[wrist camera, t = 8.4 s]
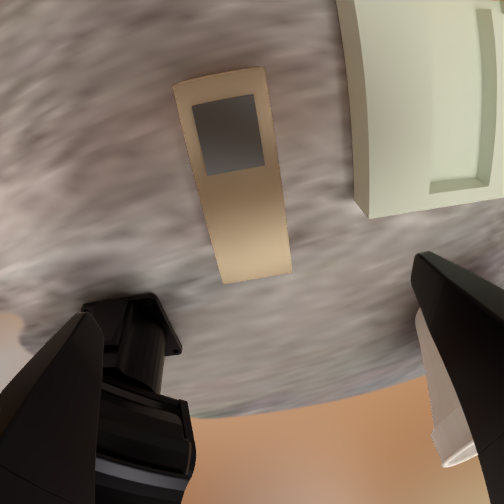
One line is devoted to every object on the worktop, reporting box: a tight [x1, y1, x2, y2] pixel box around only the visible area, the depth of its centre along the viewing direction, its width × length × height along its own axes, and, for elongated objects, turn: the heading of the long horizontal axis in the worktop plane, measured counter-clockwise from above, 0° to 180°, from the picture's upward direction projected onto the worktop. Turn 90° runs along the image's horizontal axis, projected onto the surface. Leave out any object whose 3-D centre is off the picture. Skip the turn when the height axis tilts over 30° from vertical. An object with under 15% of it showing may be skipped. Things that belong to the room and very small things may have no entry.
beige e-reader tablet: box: [172, 67, 292, 284], centre depth 15 cm, size 10×4×4 cm, turn 9°
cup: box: [415, 308, 478, 467], centre depth 19 cm, size 12×12×14 cm
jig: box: [336, 0, 504, 219], centre depth 12 cm, size 19×13×2 cm
